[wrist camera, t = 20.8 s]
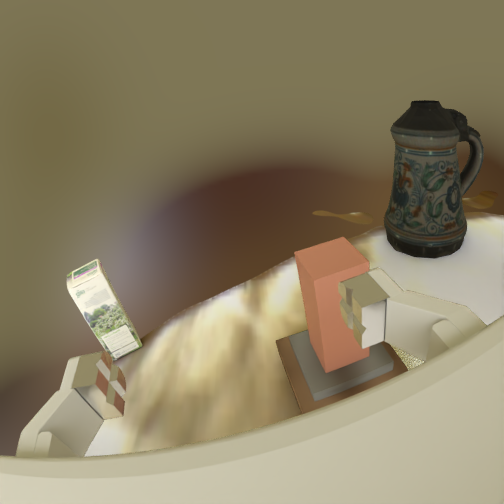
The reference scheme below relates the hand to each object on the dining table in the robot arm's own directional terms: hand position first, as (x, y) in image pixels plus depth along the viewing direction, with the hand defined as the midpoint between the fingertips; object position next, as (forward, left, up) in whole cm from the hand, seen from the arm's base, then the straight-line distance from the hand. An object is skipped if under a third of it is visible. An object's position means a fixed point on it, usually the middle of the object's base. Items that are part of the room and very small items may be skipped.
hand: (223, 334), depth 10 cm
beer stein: (-38, -35, -24) cm, 57 cm away
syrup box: (+20, -31, -24) cm, 44 cm away
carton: (-9, -14, -20) cm, 26 cm away
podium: (-9, -15, -24) cm, 29 cm away
